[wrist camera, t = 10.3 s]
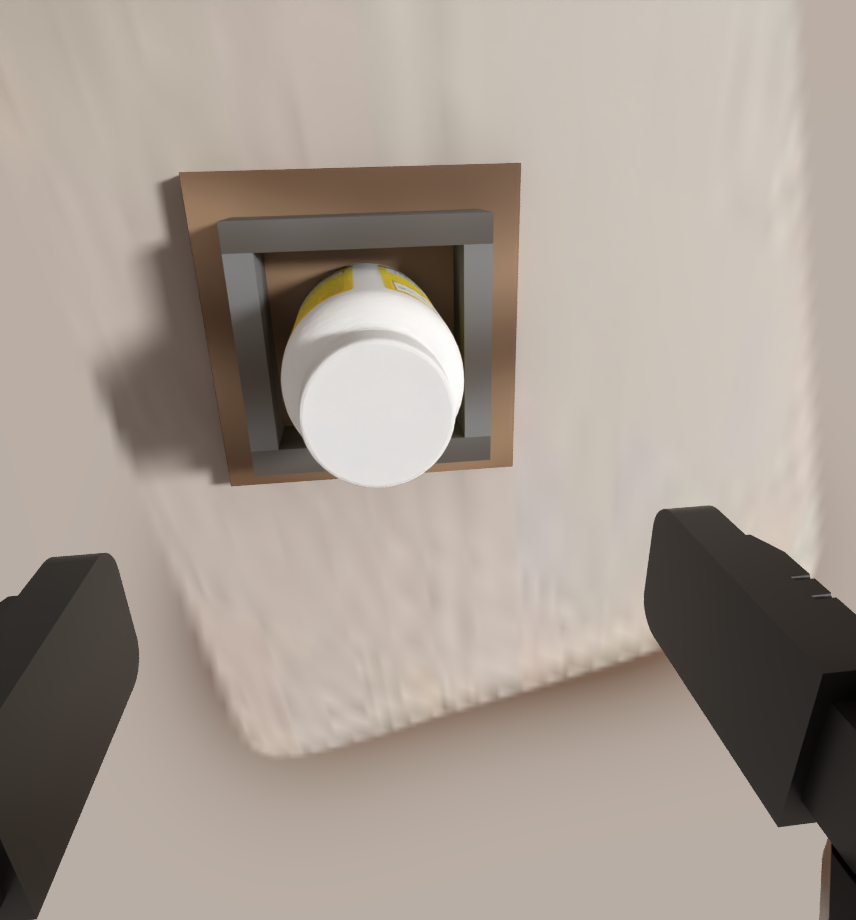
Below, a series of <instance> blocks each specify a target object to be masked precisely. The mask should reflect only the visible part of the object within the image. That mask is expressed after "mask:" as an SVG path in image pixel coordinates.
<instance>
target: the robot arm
mask: <svg viewBox="0 0 856 920" xmlns="http://www.w3.org/2000/svg"><path fill="white" fill-rule="evenodd" d="M644 608H645V614H646V619H647V622H648V625H649V628H650V630H651V632H652V634H653V636H654V638H655V639H656V641H657V642H658V644H659V645H660V647H661V648H662V650H663V652H664V653H665V655H666V656H667V658H668V659H669V661H670V662H671V664H672V665H673V667H674V668H675V670H676V671H677V673H678V674H679V676H680V677H681V679H682V680H683V682H684V684H685V685H686V687H687V688H688V690H689V691H690V693H691V694H692V696H693V697H694V699H695V701H696V702H697V704H698V705H699V707H700V708H701V710H702V711H703V713H704V714H705V716H706V717H707V719H708V720H709V722H710V723H711V725H712V726H713V728H714V730H715V731H716V733H717V734H718V736H719V737H720V739H721V740H722V742H723V743H724V745H725V747H726V748H727V750H728V751H729V753H730V754H731V756H732V757H733V759H734V760H735V762H736V763H737V765H738V766H739V768H740V769H741V771H742V773H743V774H744V776H745V777H746V779H747V780H748V782H749V783H750V785H751V786H752V788H753V789H754V791H755V792H756V794H757V795H758V797H759V799H760V800H761V802H762V803H763V804H764V806H765V808H766V809H767V811H768V812H769V814H770V815H771V817H772V818H773V820H774V822H775V823H776V824H777V826H778V827H784V826H791V825H799V824H807V823H815V822H817V823H818V825H819V826H820V827H821V828H822V830H823V831H824V833H825V834H826V835H827V837H828V839H827V842H826V845H825V848H824V851H823V857H822V871H821V894H820V915H819V920H856V614H855V613H853V612H852V611H851V610H850V609H849V608H848V607H847V606H845V605H844V604H843V603H842V602H841V601H840V600H839V599H837V598H832V597H831V592H829V591H828V590H827V589H826V588H825V587H824V586H823V585H822V584H820V583H819V582H818V581H817V580H816V579H810V574H809V573H808V572H807V571H806V570H804V569H803V568H802V567H801V566H800V565H799V564H798V563H796V562H795V561H794V560H793V559H792V558H791V557H790V556H788V555H787V554H786V553H785V552H783V551H781V550H779V549H777V548H776V547H774V546H772V545H770V544H768V543H766V542H764V541H762V540H760V539H758V538H756V537H754V536H752V535H745V534H744V533H743V532H742V531H741V530H740V529H739V528H737V527H736V526H735V525H734V524H733V523H732V522H731V521H730V520H729V519H728V518H727V517H725V516H724V515H723V514H722V513H721V512H720V511H719V510H718V509H716V508H715V507H713V506H697V507H685V508H673V509H663V510H661V511H659V512H658V514H657V515H656V517H655V520H654V525H653V531H652V539H651V546H650V554H649V561H648V568H647V576H646V583H645V591H644ZM138 665H139V648H138V641H137V636H136V633H135V629H134V625H133V622H132V618H131V614H130V610H129V607H128V603H127V600H126V596H125V592H124V588H123V585H122V581H121V577H120V573H119V570H118V567H117V564H116V562H115V560H114V558H113V557H112V556H111V555H110V554H108V553H99V554H87V555H75V556H63V557H62V556H61V557H52V558H49V559H47V560H46V561H45V562H44V563H43V564H42V566H41V567H40V568H39V569H38V571H37V572H36V573H35V575H34V576H33V577H32V578H31V580H30V581H29V582H28V584H27V585H26V586H25V587H24V589H23V590H22V591H21V593H20V594H19V595H18V596H11V597H7V598H6V599H4V600H3V601H1V602H0V920H34V919H37V917H38V915H39V912H40V910H41V908H42V905H43V903H44V900H45V898H46V895H47V893H48V891H49V889H50V886H51V884H52V881H53V879H54V877H55V874H56V872H57V869H58V867H59V865H60V862H61V859H62V857H63V855H64V853H65V850H66V848H67V845H68V843H69V841H70V838H71V836H72V833H73V831H74V829H75V826H76V824H77V822H78V819H79V817H80V814H81V812H82V809H83V807H84V805H85V802H86V800H87V798H88V795H89V793H90V790H91V788H92V785H93V783H94V781H95V778H96V776H97V774H98V771H99V769H100V766H101V764H102V762H103V759H104V757H105V755H106V752H107V750H108V747H109V745H110V742H111V740H112V738H113V735H114V733H115V731H116V728H117V726H118V723H119V721H120V719H121V716H122V714H123V711H124V709H125V707H126V704H127V702H128V699H129V697H130V695H131V692H132V690H133V688H134V685H135V682H136V678H137V673H138Z"/></svg>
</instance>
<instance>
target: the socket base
mask: <svg viewBox="0 0 856 920" xmlns="http://www.w3.org/2000/svg"><path fill="white" fill-rule="evenodd" d="M179 176H180V182H181V188H182V194H183V200H184V206H185V212H186V218H187V224H188V230H189V236H190V242H191V248H192V254H193V260H194V266H195V272H196V278H197V284H198V290H199V296H200V302H201V308H202V314H203V320H204V326H205V332H206V338H207V344H208V350H209V356H210V362H211V368H212V374H213V380H214V386H215V392H216V398H217V404H218V410H219V416H220V422H221V428H222V434H223V440H224V446H225V452H226V458H227V464H228V470H229V476H230V482H231V486H241V485H255V484H270V483H284V482H298V481H312V480H326V479H339V478H337V477H335V476H333V475H332V474H330V473H329V472H328V471H326V470H325V469H324V468H323V467H322V466H321V465H320V464H319V463H317V461H316V460H315V459H314V458H313V456H312V455H311V453H310V452H309V450H308V449H307V447H306V445H305V443H304V440H303V438H302V436H301V435H300V433H299V432H298V431H297V429H296V428H295V426H294V425H293V423H292V421H291V419H290V417H289V415H288V413H287V410H286V406H285V403H284V399H283V394H282V387H281V368H282V361H283V356H284V352H285V348H286V346H287V343H288V340H289V338H290V335H291V332H292V330H293V327H294V324H295V322H296V319H297V315H298V312H299V310H300V307H301V305H302V303H303V301H304V299H305V297H306V296H307V294H308V293H309V292H310V290H311V289H312V288H313V286H314V285H315V284H316V283H317V282H318V281H319V280H321V279H322V278H323V277H324V276H326V275H327V274H329V273H330V272H332V271H334V270H336V269H339V268H341V267H344V266H347V265H351V264H357V263H374V264H380V265H384V266H388V267H390V268H393V269H395V270H397V271H399V272H401V273H403V274H404V275H406V276H407V277H409V278H410V279H411V280H412V281H414V282H415V283H416V284H417V285H418V286H419V287H420V288H421V290H422V291H423V292H424V293H425V295H426V296H427V298H428V299H429V301H430V302H431V303H432V305H433V307H434V308H435V309H436V311H437V312H438V314H439V315H440V316H441V318H442V319H443V321H444V322H445V324H446V325H447V326H448V328H449V330H450V331H451V333H452V335H453V337H454V339H455V341H456V344H457V346H458V349H459V351H460V355H461V358H462V363H463V371H464V391H463V397H462V402H461V405H460V408H459V411H458V414H457V416H456V418H455V424H454V430H453V433H452V436H451V439H450V441H449V443H448V446H447V447H446V449H445V451H444V452H443V454H442V455H441V457H440V458H439V459H438V460H437V461H436V463H435V464H434V465H432V466H431V467H430V468H429V469H428V470H427V471H425V472H439V471H453V470H467V469H481V468H495V467H509V466H512V465H513V430H514V394H515V359H516V323H517V288H518V253H519V217H520V182H521V163H503V164H467V165H431V166H395V167H359V168H322V169H286V170H250V171H214V172H179Z"/></svg>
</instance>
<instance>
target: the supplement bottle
mask: <svg viewBox="0 0 856 920" xmlns="http://www.w3.org/2000/svg"><path fill="white" fill-rule="evenodd" d="M281 387H282V394H283V399H284V403H285V406H286V410H287V413H288V415H289V417H290V419H291V421H292V423H293V425H294V426H295V428H296V429H297V431H298V432H299V433H300V435H301V436H302V438H303V440H304V443H305V445H306V447H307V449H308V450H309V452H310V453H311V455H312V456H313V458H314V459H315V460H316V461H317V463H319V464H320V465H321V466H322V467H323V468H324V469H325V470H326V471H328V472H329V473H330V474H332V475H333V476H335V477H337V478H339V479H341V480H343V481H345V482H348V483H351V484H354V485H358V486H363V487H372V488H378V487H391V486H395V485H399V484H402V483H405V482H408V481H410V480H412V479H414V478H416V477H418V476H419V475H421V474H422V473H424V472H425V471H427V470H428V469H429V468H430V467H431V466H432V465H434V464H435V463H436V461H437V460H438V459H439V458H440V457H441V455H442V454H443V452H444V451H445V449H446V447H447V446H448V443H449V441H450V439H451V436H452V433H453V430H454V424H455V418H456V416H457V414H458V411H459V408H460V405H461V402H462V397H463V391H464V371H463V363H462V358H461V355H460V351H459V349H458V346H457V344H456V341H455V339H454V337H453V335H452V333H451V331H450V330H449V328H448V326H447V325H446V324H445V322H444V321H443V319H442V318H441V316H440V315H439V314H438V312H437V311H436V309H435V308H434V307H433V305H432V303H431V302H430V301H429V299H428V298H427V296H426V295H425V293H424V292H423V291H422V290H421V288H420V287H419V286H418V285H417V284H416V283H415V282H414V281H412V280H411V279H410V278H409V277H407V276H406V275H404V274H403V273H401V272H399V271H397V270H395V269H393V268H390V267H388V266H384V265H380V264H374V263H357V264H351V265H347V266H344V267H341V268H339V269H336V270H334V271H332V272H330V273H329V274H327V275H326V276H324V277H323V278H322V279H321V280H319V281H318V282H317V283H316V284H315V285H314V286H313V288H312V289H311V290H310V292H309V293H308V294H307V296H306V297H305V299H304V301H303V303H302V305H301V307H300V310H299V312H298V315H297V319H296V322H295V324H294V327H293V330H292V332H291V335H290V338H289V340H288V343H287V346H286V348H285V352H284V356H283V361H282V368H281Z"/></svg>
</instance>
